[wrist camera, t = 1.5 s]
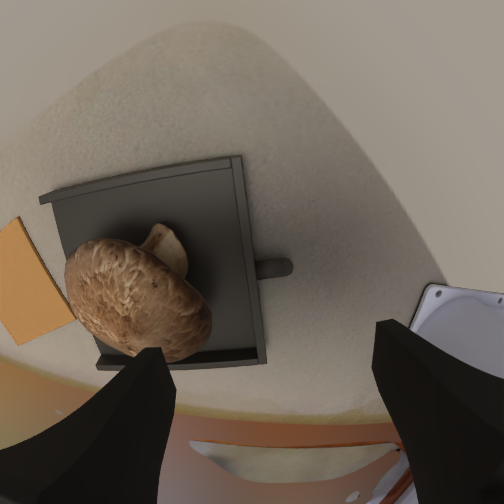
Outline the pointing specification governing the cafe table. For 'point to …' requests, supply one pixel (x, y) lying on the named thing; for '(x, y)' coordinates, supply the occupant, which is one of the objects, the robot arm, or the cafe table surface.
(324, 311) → the cafe table surface
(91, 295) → the mushroom
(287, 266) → the pan
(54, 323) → the mat
